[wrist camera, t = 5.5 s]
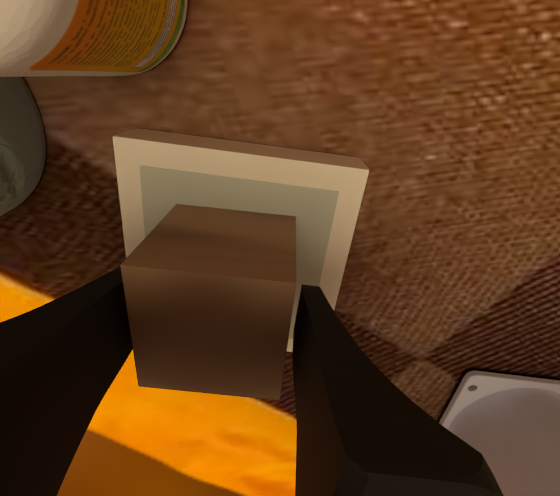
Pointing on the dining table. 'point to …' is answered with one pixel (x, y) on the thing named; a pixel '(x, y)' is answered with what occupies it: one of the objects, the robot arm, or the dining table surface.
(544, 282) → the dining table surface
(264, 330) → the walnut block
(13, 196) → the green plant pot
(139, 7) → the supplement bottle
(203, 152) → the tile base
